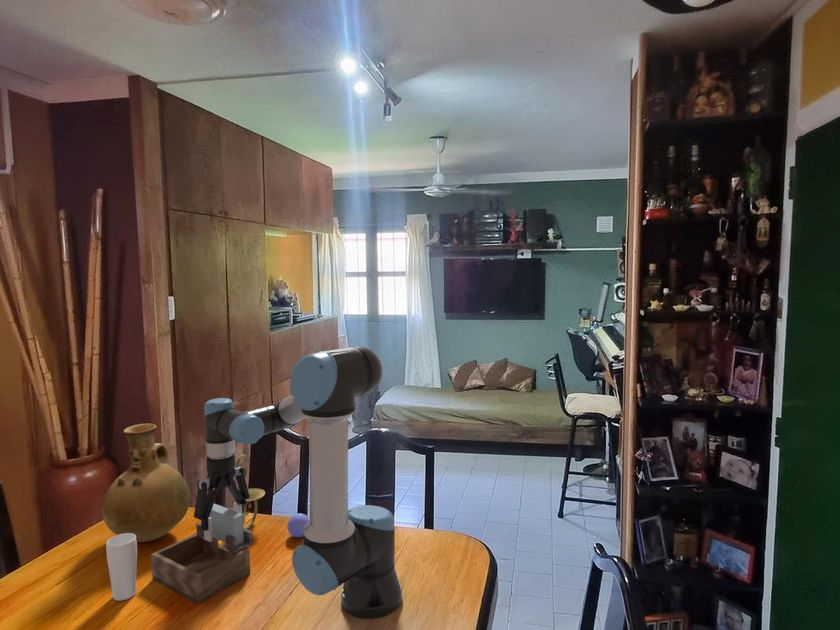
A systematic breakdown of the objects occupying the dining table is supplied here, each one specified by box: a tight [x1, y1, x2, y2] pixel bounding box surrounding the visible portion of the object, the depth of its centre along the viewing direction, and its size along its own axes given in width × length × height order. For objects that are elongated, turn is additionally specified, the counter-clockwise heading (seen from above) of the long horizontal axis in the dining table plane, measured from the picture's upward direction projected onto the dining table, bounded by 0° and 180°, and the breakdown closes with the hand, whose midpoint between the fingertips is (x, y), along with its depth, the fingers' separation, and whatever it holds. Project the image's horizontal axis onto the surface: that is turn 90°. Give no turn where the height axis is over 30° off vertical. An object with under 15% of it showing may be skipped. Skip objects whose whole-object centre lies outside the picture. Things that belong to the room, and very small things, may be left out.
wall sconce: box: [229, 454, 266, 530], centre depth 171 cm, size 14×10×25 cm
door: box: [209, 503, 244, 545], centre depth 152 cm, size 14×4×8 cm, turn 57°
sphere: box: [286, 512, 310, 538], centre depth 168 cm, size 7×7×7 cm
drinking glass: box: [105, 533, 138, 602], centre depth 137 cm, size 7×7×15 cm
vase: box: [101, 423, 191, 543], centre depth 166 cm, size 24×24×35 cm
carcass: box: [150, 522, 253, 605], centre depth 147 cm, size 20×18×11 cm
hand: (223, 532), depth 152 cm, fingers open, 9 cm apart
